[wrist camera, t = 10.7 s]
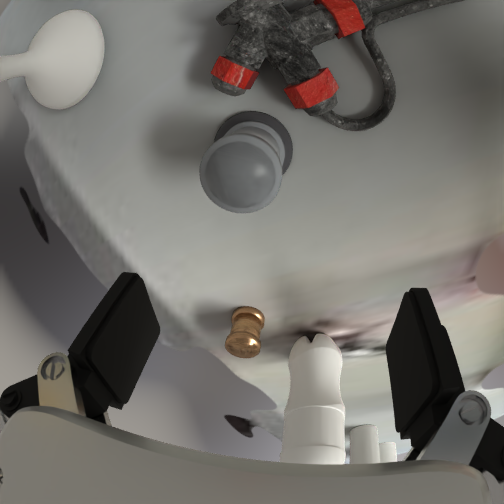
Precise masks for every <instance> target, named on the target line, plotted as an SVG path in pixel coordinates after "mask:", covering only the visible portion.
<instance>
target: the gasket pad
mask: <svg viewBox="0 0 504 504" xmlns="http://www.w3.org/2000/svg"><path fill="white" fill-rule="evenodd" d="M251 120H252V121H261V122H264V123H266V124H268V125H270V126H271V127H273V128H274V129H275V130H276V131H277V132H278V133H279V134H280V136H281V138H282V140H283V142H284V146H285V158H284V163H283V166H282V175H283V174H284V173H285V172H286V170H287V169H288V167H289V165H290V162H291V159H292V150H293V148H292V141H291V138H290V135H289V133H288V131H287V130H286V128H285V127H284V126H283V125H282V124H281V122H279V121H278V120H277V119H276V118H274V117H272V116H270V115H268V114H265V113H262V112H256V111H250V112H243V113H240V114H237V115H235V116H233V117H231V118H230V119H228V120H227V121H226V122H225V123H224V124H223V125H222V126H221V127H220V129H219V131H218V132H217V135H216V137H215V141H214V143H215V142H216V141H218V140H219V139H220V138H222V137H224V135H225V134H226V133H227V132H228V131H229V130H230V129H231V128H232V127H234V126H235V125H237V124H239V123H241V122H244V121H251Z"/></svg>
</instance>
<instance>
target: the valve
mask: <svg viewBox="0 0 504 504" xmlns="http://www.w3.org/2000/svg"><path fill="white" fill-rule="evenodd" d="M396 1H399V0H314V4H315V5H313V4H310V5H308V6H306V7H304V8H302V9H300V10H297V11H295V12H293V13H291V14H289V13H288V12H287V10H286V9H285V8H284V6H283V5H282V4H283V2H282V0H237V1H236V2H234V3H233V4H231V5H230V6H228V7H227V8H226V9H224V10H223V11H222V12H221V13H220V14H219V15H218V16H217V18H216V20H217V21H218V22H219V24H220V25H221V26H223V25H227V24H233V25H236V24H240V26H239V28H238V30H237V32H236V33H235V35H234V37H233V39H232V40H231V42H230V44H229V46H228V47H227V49H226V51H225V53H224V54H226V57H223V56H219V58H218V59H217V61H216V63H215V65H214V67H213V69H212V71H211V74H213V77H212V79H211V80H212V82H213V85H214V87H215V88H216V89H218V90H219V91H221V92H223V93H226V94H228V95H231V96H238V95H241V94H244V93H245V91H246V89H251V87H252V85H253V83H254V81H255V80H256V78H257V76H258V74H259V72H257V71H255V69H256V68H257V69H259V68H260V66H261V64H262V62H263V61H264V59H265V58H267V59H268V61H269V62H270V64H271V65H272V67H273V68H274V69H275V68H278V69H279V71H280V72H281V74H282V75H283V77H284V78H285V80H286V81H287V83H288V84H289V85H288V86H287V87H286V88H284V91H285V93H286V94H287V96H288V97H289V99H290V100H291V102H292V104H293V105H294V107H295V109H297V108H302V109H303V110H305V111H306V112H307V113H308V114H309V115H310V116H318V115H321V114H322V116H323V117H324V118H325V119H327V120H328V121H329V122H330V123H331V124H333V125H335V126H337V127H339V128H342V129H345V130H350V131H361V130H367V129H370V128H373V127H375V126H376V125H378V124H379V123H381V122H382V121H383V120H384V119H385V118H386V117H387V116H388V114H389V113H390V111H391V110H392V107H393V104H394V101H395V94H396V89H395V82H394V79H393V76H392V73H391V71H390V69H389V67H388V65H387V63H386V61H385V59H384V57H383V55H382V53H381V51H380V49H379V47H378V45H377V43H376V41H375V39H374V29H375V28H376V27H377V26H378V25H380V24H382V23H385V22H388V21H391V20H394V19H397V18H400V17H403V16H406V15H409V14H412V13H416V12H419V11H423V10H426V9H430V8H433V7H437V6H441V5H445V4H449V3H454V2H458V1H463V0H420V1H416V2H413V3H409V4H406V5H403V6H399V7H396V8H393V9H390V10H387V11H384V12H381V13H378V14H375V15H373V16H372V12H371V9H374V8H377V7H380V6H383V5H386V4H389V3H392V2H396ZM359 30H362V38H363V41H364V43H365V45H366V47H367V49H368V51H369V53H370V55H371V57H372V59H373V61H374V63H375V65H376V67H377V69H378V71H379V73H380V75H381V77H382V79H383V82H384V88H385V94H384V99H383V102H382V104H381V106H380V108H379V109H378V110H377V111H376V112H375V113H374V114H373V115H371V116H370V117H368V118H365V119H361V120H349V119H345V118H342V117H340V116H339V115H337V114H335V113H334V112H333V111H332V110H331V109H333V108H334V107H335V106H336V104H337V98H336V94H335V92H336V91H337V90H338V88H339V86H338V85H337V83H336V81H335V79H334V77H333V76H332V74H331V72H330V70H329V69H328V68H323V69H320V68H321V67H320V65H319V63H318V62H317V60H316V58H315V57H314V55H313V53H312V52H311V50H312V47H313V46H316V45H318V44H320V43H322V42H325V41H327V40H329V39H332V38H334V34H335V36H336V37H337V38H338V39H340V38H342V37H345V36H347V35H349V34H352V33H354V32H357V31H359Z"/></svg>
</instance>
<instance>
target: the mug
mask: <svg viewBox="0 0 504 504" xmlns="http://www.w3.org/2000/svg"><path fill="white" fill-rule="evenodd" d="M370 463H380V451H379V440H378V432H377V427H376V426H374V425H362V426H358V427H355V428H353V429H352V430H351V431H350V464H370Z"/></svg>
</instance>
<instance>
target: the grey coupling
mask: <svg viewBox="0 0 504 504" xmlns="http://www.w3.org/2000/svg"><path fill="white" fill-rule="evenodd" d="M284 158H285V146H284V142H283V140H282V138H281V136H280V134H279V133H278V132H277V131H276V130H275V129H274V128H273V127H271V126H270V125H268V124H266V123H264V122H261V121H252V120H251V121H244V122H241V123H239V124H237V125H235V126H234V127H232V128H231V129H230V130H229V131H228V132H227V133H226V134H225V135H224V137H222V138H220V139H219V140H218V141H216V142H215V143H214V144H213V145H212V146H211V147H210V148H209V149H208V150H207V151H206V153H205V154H204V156H203V158H202V161H201V164H200V171H199V172H200V181H201V184H202V187H203V189H204V191H205V193H206V194H207V196H208V197H209V198H210V199H211V200H212V201H213V202H214V203H215V204H216V205H218V206H219V207H221V208H223V209H225V210H227V211H231V212H235V213H251V212H255V211H258V210H260V209H262V208H264V207H266V206H267V205H268V204H269V203H270V202H271V201H272V200H273V199H274V198H275V197H276V195H277V193H278V191H279V188H280V185H281V180H282V166H283V163H284Z"/></svg>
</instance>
